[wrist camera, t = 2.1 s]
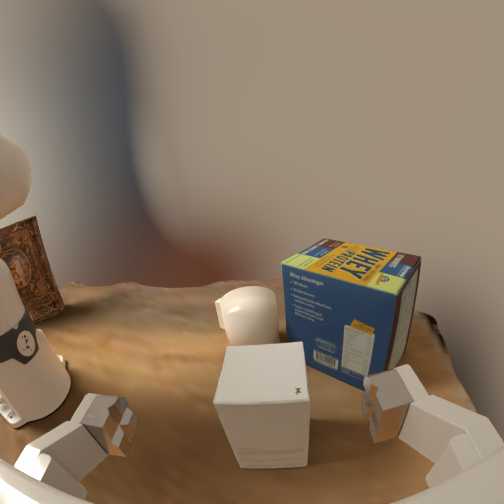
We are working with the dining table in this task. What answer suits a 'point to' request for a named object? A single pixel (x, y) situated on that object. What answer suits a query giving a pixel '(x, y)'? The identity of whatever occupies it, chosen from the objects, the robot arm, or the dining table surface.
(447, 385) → the dining table surface
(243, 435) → the supplement box
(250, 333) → the off-white mug
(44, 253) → the book
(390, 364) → the protein box
